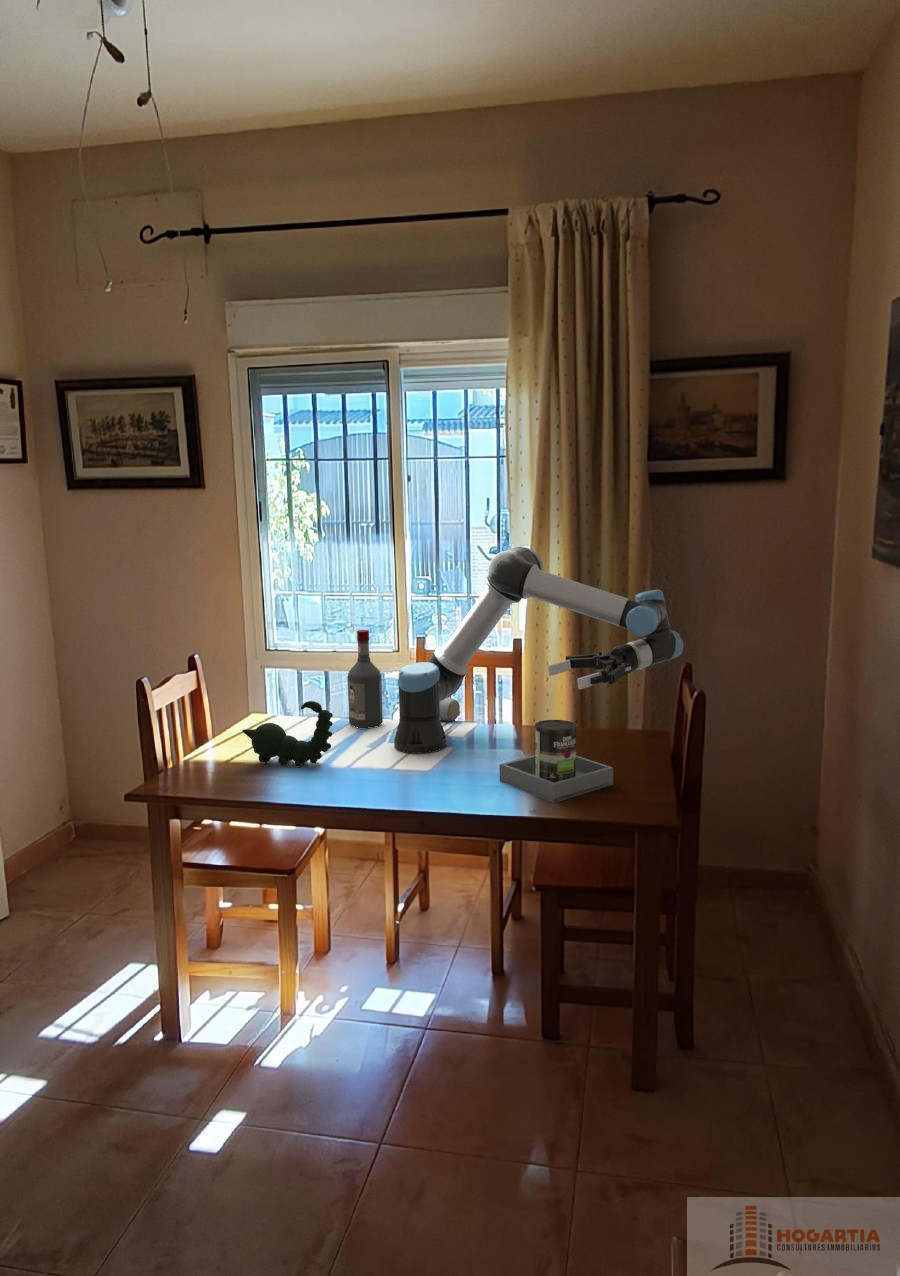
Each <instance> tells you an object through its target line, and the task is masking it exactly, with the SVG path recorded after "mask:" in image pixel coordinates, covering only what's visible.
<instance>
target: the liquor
mask: <svg viewBox="0 0 900 1276" xmlns="http://www.w3.org/2000/svg"><path fill="white" fill-rule="evenodd" d="M356 639H357V640H356V641H357V661H356V663H355V664H354V665H353V666H352V667H351V668H350V669H349V671H348V672H347V696H348V697H347V699H348V701H347V702H348V723H349V725H350V724H351V725H350V726H352V725H353V726H352V727H354V726H355V727H354V728H356V727H358V728H357V729H359V728H367V729H369V728H368V727H372V728H376V727H375V726H378V727H380V726H381V725H382V724H383V720H384V719H383V690H382V689H383V685H382V683H383V682H382V673H381V671H380V669H379V668H378V667H377V666H376V665H375V664H374V663H373V662H372V661H371V658H370V630H368V629H359V630H357V631H356ZM381 723H382V724H381ZM380 724H381V725H380ZM379 725H380V726H379Z"/></svg>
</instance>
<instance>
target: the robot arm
mask: <svg viewBox="0 0 900 1276" xmlns="http://www.w3.org/2000/svg"><path fill="white" fill-rule="evenodd" d="M543 567H544V566H543V562H542V559H541V557H540V556H539V555H538V553H537V551H536V552H535V551H534V550H533V549H532V548H529V547H524V546H515V547H513V548H510V549H506V550H502V551H500V552H498V553H496V554H495V555H494V556H493V557H492V558H491V560H490V561H489V563H488V567H487V577H486V584H487V586H486V588H485V589H484V590H483V591H482V593H481V595H480V596H479V597H478V598H477V600H476V602H474V605H472V607H471V609H470V610H469V611H468V613H467V614H466V615H465V616H464V618H463V620H462V621H461V623H459V626H457V628H456V629H455V631H454V633H452V635H451V637H450V638H449V639H448V641H447V642H446V644H445V645H444V646H443V647H441V648H436V649H435V650H434V652H433V653H432V654H431V656H430V657H429V659H428V660H427V662H426V661H424V662H423V661H420V662H419V661H418V662H414V663H409V664H407V665H405V666H403V667H402V668H401V669H400V670H399V672H398V678H397V679H398V680H397V686H398V703H399V704H398V705H399V708H398V709H399V710H398V711H399V722H398V724H397V729H396V732H395V736H394V738H393V746H394V748H395V750H398V751H399V752H403V753H406V754H407V753H408V754H429V753H435V752H439V751H441V750H444V749H445V748H446V747H447V746H448V745H447V743H448V742H447V735H446V733H445V730H444V726H443V724H442V720H440V701H442V700H444V699H445V698H451V697H452V696H453V695H454V694H456V692H458V690H459V689H460V688H461V686H462V683H463V680H464V678H465V676H467V674H468V672H469V669H468V664H469V663H470V661H471V660H472V659H473V657H474V656H475V654H476V653H477V651H479V649H480V647H481V646H482V645H483V643H484V642H485V641H486V639H487V638H488V637H489V636H490V634H491V632H492V631H493V630H494V629H495V627H496V626H497V624H498V623H499V621H500V620H501V619H502V618H503V616H504V614H505V613H506V612H507V610H508V609H510V606H511V605H512V604H515V603H520V602H521V600H522V599H524V600H528V599H529V598H533V599H535V600H539V601H542V602H544V603H545V602H546V603H548V604H551V605H554V606H556V607H559V608H563V609H566V610H569V611H572V612H575V613H578V614H581V615H583V616H587V617H589V618H593V619H595V620H596V619H597V620H599V621H602V622H606V623H608V624H611V625H614V626H617V627H620V628H623V629H625V630H628V631H629V633H631V634H632V635H634V636H637V637H643V638H641V639H640V638H639V639H637V640H633V641H629V642H627V643H623V644H620V645H617V646H614V647H613V648H612V650H611V652H610V654H609V653H606V654H603V652H602V651H597V652H596V651H595V652H593V653H583V654H576V655H567V656H565V660H563V661H560V662H557V663H553V664H549V665H547V670H548V671H547V672H548V676H549V677H552V676H555V675H559V674H563V673H565V672H571V671H572V669H589V668H591V669H593V670H600V671H601V672H600V671H598V672H595V673H591V674H587V675H585V676H581V677H578V678H576V682H577V690H583V689H586V688H590V687H593V686H596V685H598V684H602V683H603V684H606V683H608V685H613V684H615V683H616V682H618V681H619V680H620V679H621V678H623V677H625V676H626V675H628V674H631V673H632V672H634V671H638V670H639V671H642V670H643V669H644V668H646V667H647V668H648V667H650V666H651V667H652V666H655V665H657V664H661V663H663V662H668V661H671V660H673V659H675V658H678V657H679V656H681V654H682V653H683V651H684V641H683V639H682V638H681V635H680V634H679V633H678V632H677V631H675V630H671V625H670V622H669V616H668V611H667V606H666V600H665V597H664V593H663V591H662V590H661V589H652V590H647V591H642V592H638V593H636V595H635V596H634V600H633V599H630V598H628V597H624V596H621V595H618V594H615V593H611V592H609V591H606V590H603V589H599V588H597V587H594V586H590V585H587V584H583V583H581V582H578V581H575V580H572V579H568V578H566V577H562V576H559V575H556V574H554V573H549V572H547V571H544V569H543Z"/></svg>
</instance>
